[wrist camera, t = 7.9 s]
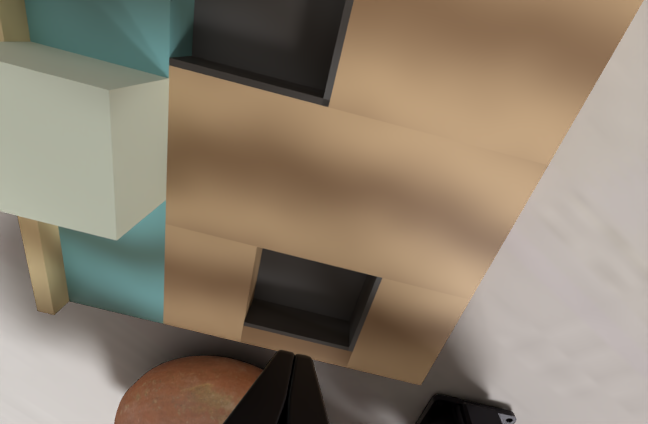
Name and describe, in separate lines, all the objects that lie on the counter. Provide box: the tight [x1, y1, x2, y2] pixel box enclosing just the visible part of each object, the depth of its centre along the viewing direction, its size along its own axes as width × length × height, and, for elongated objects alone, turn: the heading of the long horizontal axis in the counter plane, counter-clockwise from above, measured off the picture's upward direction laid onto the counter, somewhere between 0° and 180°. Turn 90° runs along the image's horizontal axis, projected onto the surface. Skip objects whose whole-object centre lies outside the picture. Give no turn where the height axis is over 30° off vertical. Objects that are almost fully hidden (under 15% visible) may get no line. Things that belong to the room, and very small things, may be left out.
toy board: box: [0, 0, 644, 385], centre depth 17 cm, size 23×24×4 cm
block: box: [0, 42, 169, 240], centre depth 14 cm, size 6×6×4 cm
